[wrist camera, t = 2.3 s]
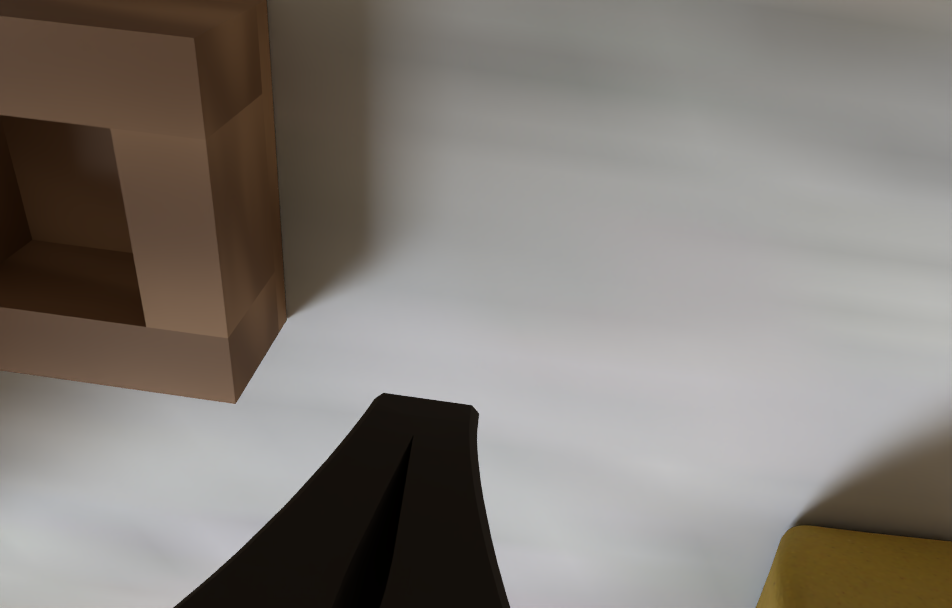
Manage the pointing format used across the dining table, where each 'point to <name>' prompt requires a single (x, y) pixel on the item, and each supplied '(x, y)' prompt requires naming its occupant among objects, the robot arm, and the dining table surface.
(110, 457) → the dining table surface
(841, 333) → the dining table surface
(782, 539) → the flower pot
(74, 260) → the socket block
